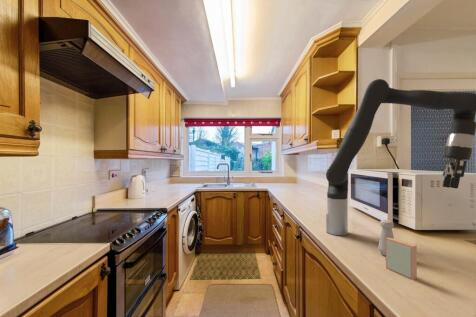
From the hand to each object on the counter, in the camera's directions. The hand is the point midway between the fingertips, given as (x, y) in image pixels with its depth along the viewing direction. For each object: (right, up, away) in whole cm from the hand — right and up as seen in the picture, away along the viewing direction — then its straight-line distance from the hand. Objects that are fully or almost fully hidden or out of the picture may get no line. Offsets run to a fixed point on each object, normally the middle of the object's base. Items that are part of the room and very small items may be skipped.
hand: (449, 187), depth 88 cm
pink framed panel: (-31, -25, -16) cm, 43 cm away
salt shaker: (-26, -26, -2) cm, 36 cm away
